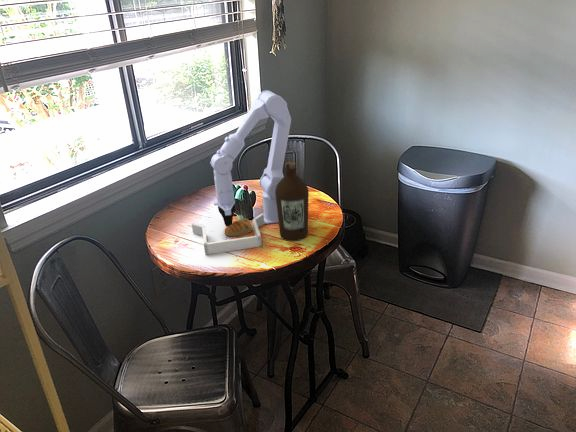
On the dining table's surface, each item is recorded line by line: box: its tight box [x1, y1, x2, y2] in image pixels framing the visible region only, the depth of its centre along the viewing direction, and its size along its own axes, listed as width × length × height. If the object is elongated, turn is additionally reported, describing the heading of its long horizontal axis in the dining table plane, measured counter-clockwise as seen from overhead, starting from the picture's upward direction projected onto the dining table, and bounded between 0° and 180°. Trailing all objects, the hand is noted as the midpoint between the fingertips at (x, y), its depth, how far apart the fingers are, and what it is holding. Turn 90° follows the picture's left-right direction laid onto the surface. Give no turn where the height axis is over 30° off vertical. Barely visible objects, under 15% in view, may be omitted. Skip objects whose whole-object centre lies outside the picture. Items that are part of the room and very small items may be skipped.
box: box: [191, 213, 265, 256], centre depth 155 cm, size 25×16×4 cm, turn 102°
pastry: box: [223, 217, 253, 237], centre depth 159 cm, size 9×7×4 cm
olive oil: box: [275, 161, 310, 242], centre depth 150 cm, size 11×11×25 cm
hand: (228, 225), depth 162 cm, fingers closed
